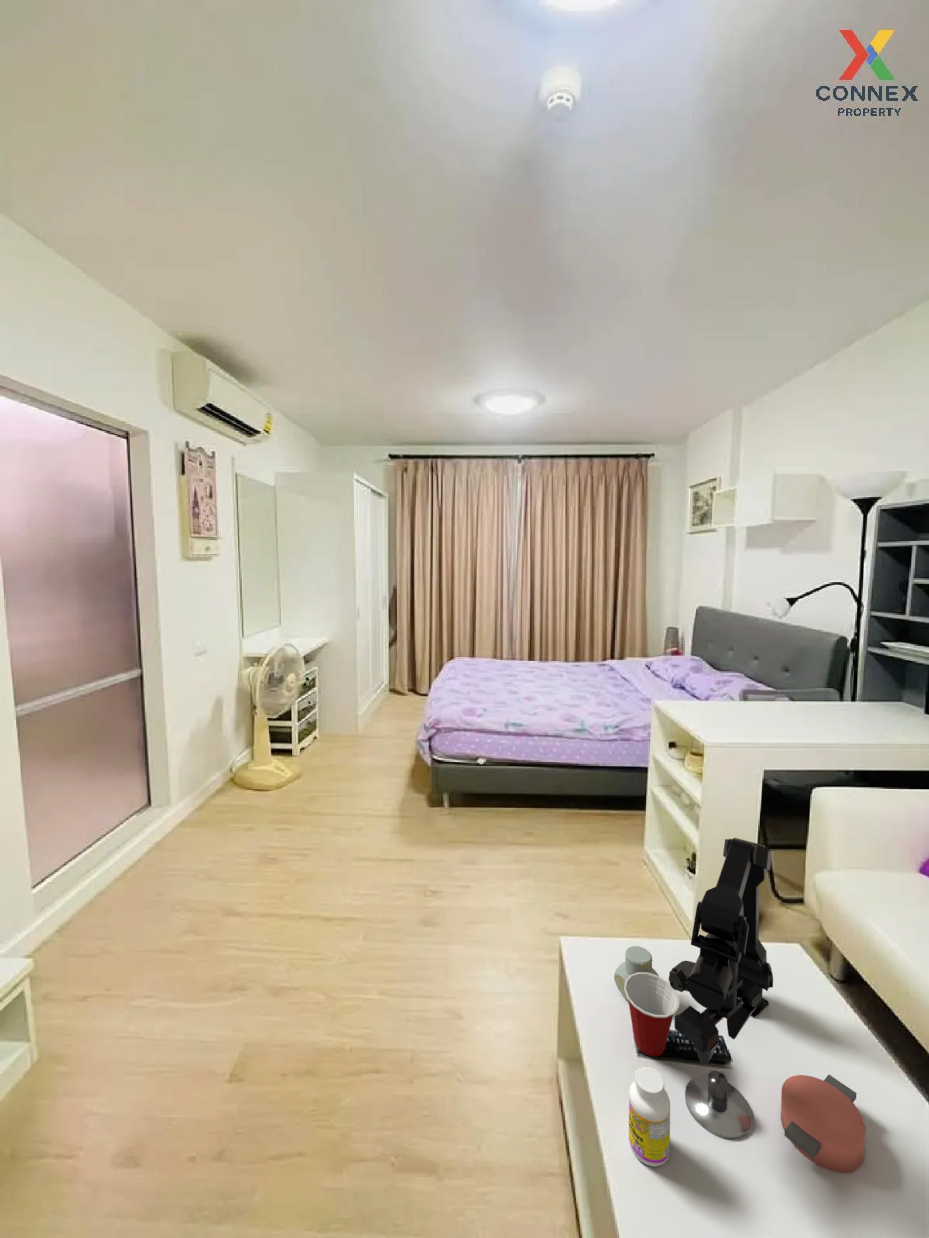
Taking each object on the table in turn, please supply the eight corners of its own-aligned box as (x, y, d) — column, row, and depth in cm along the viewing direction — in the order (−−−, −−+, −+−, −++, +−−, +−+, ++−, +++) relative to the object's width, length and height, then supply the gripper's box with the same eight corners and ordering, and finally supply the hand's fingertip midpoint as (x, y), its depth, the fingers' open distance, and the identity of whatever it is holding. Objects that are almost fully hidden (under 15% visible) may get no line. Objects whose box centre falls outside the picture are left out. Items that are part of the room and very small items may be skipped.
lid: (706, 1069, 105) (706, 1041, 104) (763, 1115, 96) (764, 1084, 95) (672, 1101, 99) (673, 1071, 98) (730, 1154, 90) (731, 1121, 89)
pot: (805, 1079, 102) (806, 1055, 101) (881, 1133, 92) (882, 1107, 92) (760, 1134, 92) (761, 1108, 92) (839, 1200, 83) (841, 1171, 82)
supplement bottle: (622, 1129, 94) (622, 1062, 93) (658, 1125, 94) (659, 1058, 93) (638, 1171, 87) (638, 1100, 86) (677, 1166, 88) (677, 1095, 87)
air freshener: (669, 1005, 120) (670, 964, 119) (640, 1018, 117) (640, 975, 116) (636, 972, 130) (636, 934, 129) (609, 983, 127) (609, 944, 126)
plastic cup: (656, 1079, 103) (657, 1022, 102) (612, 1039, 112) (612, 986, 111) (690, 1050, 109) (691, 996, 108) (646, 1014, 118) (646, 964, 117)
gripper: (706, 925, 107) (705, 997, 108) (648, 966, 96) (648, 1045, 98) (763, 957, 98) (761, 1036, 99) (706, 1006, 87) (704, 1093, 89)
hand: (718, 1050), depth 96 cm, fingers open, 9 cm apart
